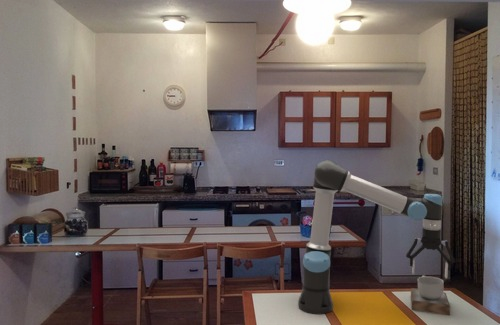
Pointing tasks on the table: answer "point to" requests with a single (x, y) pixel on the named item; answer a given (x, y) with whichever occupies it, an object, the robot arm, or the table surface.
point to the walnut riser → (429, 303)
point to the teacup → (430, 287)
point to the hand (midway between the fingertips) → (429, 275)
